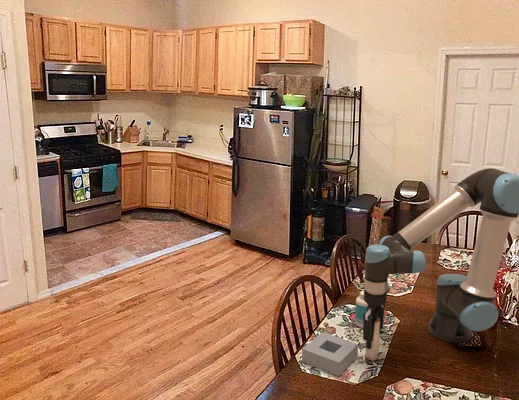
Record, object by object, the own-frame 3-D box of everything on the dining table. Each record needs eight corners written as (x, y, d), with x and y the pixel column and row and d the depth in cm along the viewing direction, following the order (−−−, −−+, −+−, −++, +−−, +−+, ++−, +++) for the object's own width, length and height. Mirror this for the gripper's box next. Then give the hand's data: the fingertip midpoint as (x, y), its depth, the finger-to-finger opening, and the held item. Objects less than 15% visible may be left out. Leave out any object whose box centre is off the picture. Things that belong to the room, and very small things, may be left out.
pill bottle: (374, 329, 183) (376, 297, 180) (354, 328, 185) (356, 296, 182) (373, 320, 190) (375, 289, 187) (354, 319, 192) (356, 288, 189)
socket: (357, 357, 165) (358, 344, 164) (338, 376, 154) (339, 362, 153) (322, 344, 173) (322, 332, 172) (302, 361, 162) (302, 348, 161)
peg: (379, 356, 165) (381, 317, 162) (374, 361, 162) (377, 321, 159) (368, 352, 168) (370, 313, 164) (364, 357, 165) (366, 318, 161)
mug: (390, 296, 212) (386, 264, 209) (358, 297, 216) (354, 266, 214) (392, 286, 222) (388, 256, 220) (361, 287, 227) (357, 257, 225)
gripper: (375, 279, 168) (372, 339, 173) (353, 296, 155) (351, 360, 160) (395, 284, 164) (391, 345, 169) (375, 302, 150) (372, 368, 156)
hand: (372, 352), depth 165 cm, fingers closed on peg, 4 cm apart
